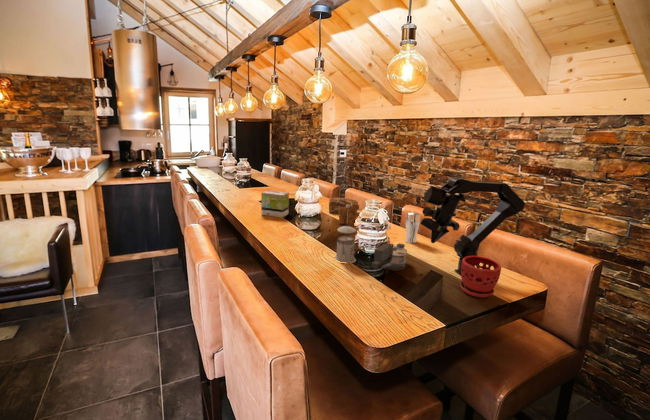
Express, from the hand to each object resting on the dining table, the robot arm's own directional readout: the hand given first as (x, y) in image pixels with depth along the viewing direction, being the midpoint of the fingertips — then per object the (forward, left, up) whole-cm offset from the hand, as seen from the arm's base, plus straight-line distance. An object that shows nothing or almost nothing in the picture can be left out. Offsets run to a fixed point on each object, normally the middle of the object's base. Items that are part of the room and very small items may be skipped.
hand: (432, 242), depth 145 cm
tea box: (+99, +55, -13) cm, 114 cm away
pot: (+6, +16, -13) cm, 21 cm away
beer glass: (+38, -10, -13) cm, 41 cm away
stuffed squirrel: (+73, +13, -13) cm, 76 cm away
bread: (+101, +8, -13) cm, 103 cm away
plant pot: (-20, -8, -13) cm, 25 cm away
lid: (+5, +16, -6) cm, 18 cm away
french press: (+17, +32, -13) cm, 38 cm away
